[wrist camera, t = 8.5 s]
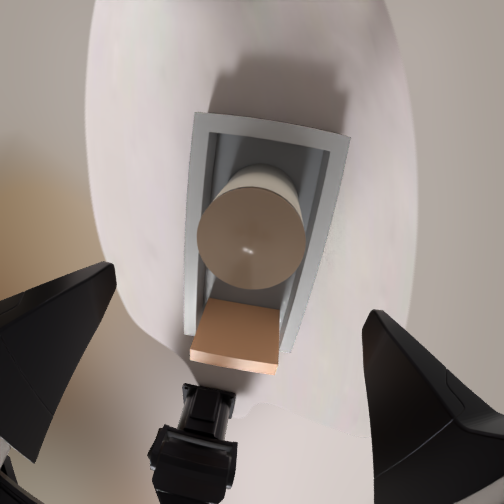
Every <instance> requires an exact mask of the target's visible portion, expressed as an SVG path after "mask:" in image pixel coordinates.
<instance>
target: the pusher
mask: <svg viewBox="0 0 504 504" xmlns="http://www.w3.org/2000/svg"><path fill="white" fill-rule="evenodd" d="M279 324H280V310H277V309H271V308H265V307H259V306H253V305H247V304H241V303H235V302H230V301H224V300H219V299H214V298H208V301H207V304H206V306H205V309H204V312H203V315H202V317H201V320H200V323H199V325H198V328H197V331H196V334H195V336H194V339H193V342H192V345H191V348H190V360H192V361H197V362H201V363H206V364H211V365H216V366H221V367H226V368H232V369H238V370H244V371H250V372H256V373H263V374H270V375H275V373H276V370H277V367H278V355H279Z"/></svg>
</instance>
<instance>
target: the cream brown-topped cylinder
mask: <svg viewBox="0 0 504 504" xmlns="http://www.w3.org/2000/svg"><path fill="white" fill-rule="evenodd" d="M197 246H198V250H199V254H200V256H201V258H202V260H203V262H204V263H205V265H206V266H207V268H208V269H209V270H210V271H211V272H212V273H213V274H214V275H215V276H217V277H218V278H219V279H221V280H222V281H224V282H226V283H228V284H230V285H232V286H235V287H239V288H243V289H264V288H269V287H272V286H275V285H277V284H279V283H281V282H283V281H284V280H286V279H287V278H288V277H290V276H291V275H292V274H293V273H294V272H295V271H296V269H297V268H298V266H299V265H300V263H301V261H302V259H303V256H304V252H305V247H306V238H305V231H304V225H303V220H302V215H301V210H300V204H299V199H298V194H297V190H296V187H295V185H294V183H293V181H292V180H291V178H290V177H289V176H288V175H287V174H286V173H285V172H284V171H282V170H281V169H279V168H277V167H275V166H272V165H268V164H253V165H249V166H246V167H244V168H242V169H241V170H239V171H238V172H237V173H235V175H234V176H233V177H232V178H231V179H230V180H229V182H228V183H227V184H226V185H225V186H224V188H223V189H222V190H221V191H220V193H219V194H218V195H217V196H216V198H215V199H214V200H213V201H212V203H211V204H210V205H209V206H208V208H207V209H206V210H205V212H204V213H203V215H202V217H201V219H200V221H199V224H198V228H197Z"/></svg>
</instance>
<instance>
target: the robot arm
mask: <svg viewBox="0 0 504 504" xmlns="http://www.w3.org/2000/svg"><path fill="white" fill-rule="evenodd" d="M116 285H117V282H116V275H115V268H114V265H113V264H112V263H109V262H105V261H103V262H100V263H97V264H94V265H91V266H89V267H86V268H83V269H80V270H78V271H75V272H73V273H70V274H67V275H65V276H62V277H59V278H57V279H54V280H52V281H49V282H46V283H44V284H41V285H39V286H36V287H34V288H31V289H29V290H26V291H25V292H21V293H19V294H17V295H14V296H12V297H9V298H6V299H4V300H1V301H0V504H44V503H43V502H41V501H40V500H38V499H37V498H35V497H34V496H33V495H31V494H30V493H28V492H27V491H26V490H24V489H23V488H22V487H20V486H19V485H18V483H17V480H16V477H15V474H14V470H13V467H12V464H11V460H10V457H9V456H8V455H7V454H8V452H9V450H10V448H11V447H12V448H13V449H15V450H16V451H17V452H19V453H20V454H21V455H22V456H24V457H25V458H27V459H28V460H29V461H31V462H32V463H35V462H36V459H37V457H38V454H39V451H40V448H41V446H42V443H43V441H44V438H45V435H46V433H47V430H48V428H49V426H50V423H51V420H52V418H53V415H54V413H55V411H56V409H57V406H58V404H59V402H60V400H61V398H62V396H63V393H64V391H65V389H66V387H67V385H68V383H69V381H70V379H71V377H72V375H73V373H74V371H75V369H76V367H77V365H78V363H79V361H80V359H81V357H82V355H83V353H84V351H85V349H86V348H87V346H88V344H89V342H90V340H91V339H92V337H93V335H94V333H95V331H96V330H97V328H98V326H99V324H100V322H101V320H102V318H103V316H104V314H105V311H106V309H107V307H108V305H109V302H110V300H111V298H112V296H113V294H114V292H115V289H116ZM362 345H363V367H364V377H365V384H366V391H367V399H368V407H369V416H370V427H371V438H372V452H373V469H374V504H504V415H503V414H500V413H498V412H496V411H495V410H494V409H492V408H491V407H490V406H489V405H488V404H487V403H485V402H484V401H483V400H482V399H481V398H480V397H478V396H477V395H476V394H474V392H472V391H471V390H470V389H469V388H468V387H466V386H465V385H464V384H463V383H462V382H461V381H460V380H459V379H458V378H457V377H455V376H454V375H453V374H452V373H451V372H450V371H449V370H448V369H446V367H445V366H444V365H443V364H442V363H441V362H440V361H438V360H437V359H436V358H435V357H434V356H433V355H432V354H431V353H430V352H429V351H428V350H427V349H426V348H425V347H423V346H422V345H421V344H420V343H419V342H418V341H417V340H416V339H415V338H414V337H412V336H411V335H410V334H409V333H408V332H407V331H406V330H405V329H404V328H402V327H401V326H400V325H399V324H398V323H397V322H396V321H395V320H393V319H392V318H391V317H390V316H389V315H388V314H387V313H385V312H384V311H383V310H376V309H373V310H372V311H371V312H370V313H369V316H368V318H367V320H366V322H365V324H364V326H363V329H362ZM182 389H183V399H184V407H183V411H182V414H181V417H180V420H179V424H178V427H177V429H176V428H173V427H170V426H169V425H166V424H165V425H164V427H163V428H159V431H158V434H157V436H156V439H155V441H154V443H153V445H152V447H151V448H150V450H149V452H148V455H147V456H148V458H149V459H150V469H151V470H153V471H154V474H153V478H152V482H153V485H154V488H155V491H156V493H157V496H158V499H159V502H160V504H219V503H220V502H221V501H222V500H223V499H224V496H225V492H226V489H231V487H232V484H233V480H234V477H235V470H236V458H237V444H238V443H237V442H229V441H224V439H225V434H226V429H227V423H228V419H231V418H232V413H233V408H234V403H235V397H236V395H235V394H234V393H231V392H225V391H220V390H215V389H210V388H205V387H200V386H196V385H191V384H187V383H185V384H183V387H182Z"/></svg>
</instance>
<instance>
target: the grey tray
mask: <svg viewBox="0 0 504 504" xmlns="http://www.w3.org/2000/svg"><path fill="white" fill-rule="evenodd" d="M350 138H351V137H348V136H345V135H341V134H337V133H333V132H328V131H324V130H320V129H315V128H310V127H305V126H300V125H295V124H290V123H284V122H278V121H272V120H266V119H259V118H252V117H244V116H235V115H226V114H215V113H202V112H195V114H194V122H193V131H192V141H191V151H190V162H189V174H188V187H187V203H186V221H185V246H184V334H185V335H190V336H195V334H196V331H197V328H198V325H199V323H200V320H201V317H202V315H203V312H204V309H205V306H206V304H207V301H208V298H214V299H219V300H224V301H230V302H235V303H241V304H247V305H253V306H259V307H265V308H271V309H277V310H280V324H279V332H280V333H279V351H280V352H287V353H291V351H292V348H293V345H294V342H295V339H296V336H297V334H298V331H299V328H300V325H301V322H302V319H303V316H304V313H305V310H306V307H307V303H308V300H309V297H310V294H311V291H312V288H313V284H314V281H315V278H316V274H317V271H318V268H319V264H320V261H321V257H322V254H323V250H324V247H325V243H326V240H327V236H328V232H329V229H330V225H331V221H332V217H333V213H334V209H335V205H336V201H337V197H338V193H339V189H340V185H341V180H342V176H343V171H344V167H345V162H346V158H347V153H348V148H349V143H350ZM253 164H268V165H272V166H275V167H277V168H279V169H281V170H282V171H284V172H285V173H286V174H287V175H288V176H289V177H290V178H291V180H292V181H293V183H294V185H295V187H296V190H297V194H298V199H299V204H300V210H301V215H302V220H303V225H304V231H305V238H306V247H305V252H304V256H303V259H302V261H301V263H300V265H299V266H298V268H297V269H296V271H295V272H294V273H293V274H292V275H291V276H290V277H288V278H287V279H286V280H284V281H283V282H281V283H279V284H277V285H275V286H272V287H269V288H264V289H243V288H239V287H235V286H232V285H230V284H228V283H226V282H224V281H222V280H221V279H219V278H218V277H217V276H215V275H214V274H213V273H212V272H211V271H210V270H209V269H208V268H207V266H206V265H205V263H204V262H203V260H202V258H201V256H200V254H199V250H198V246H197V228H198V224H199V221H200V219H201V217H202V215H203V213H204V212H205V210H206V209H207V208H208V206H209V205H210V204H211V203H212V201H213V200H214V199H215V198H216V196H217V195H218V194H219V193H220V191H221V190H222V189H223V188H224V186H225V185H226V184H227V183H228V182H229V180H230V179H231V178H232V177H233V176H234V175H235V173H237V172H238V171H239V170H241V169H242V168H244V167H246V166H249V165H253Z"/></svg>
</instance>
